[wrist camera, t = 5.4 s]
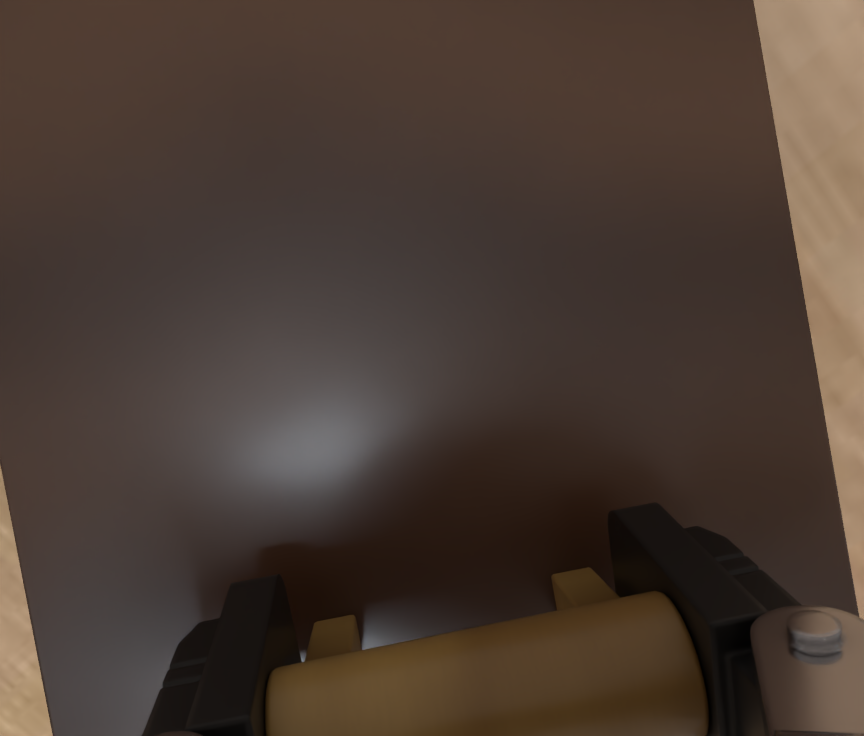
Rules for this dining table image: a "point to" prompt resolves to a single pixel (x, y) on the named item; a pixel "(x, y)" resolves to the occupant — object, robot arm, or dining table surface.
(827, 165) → the dining table surface
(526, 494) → the lid
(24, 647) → the dining table surface
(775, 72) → the dining table surface
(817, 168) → the dining table surface
